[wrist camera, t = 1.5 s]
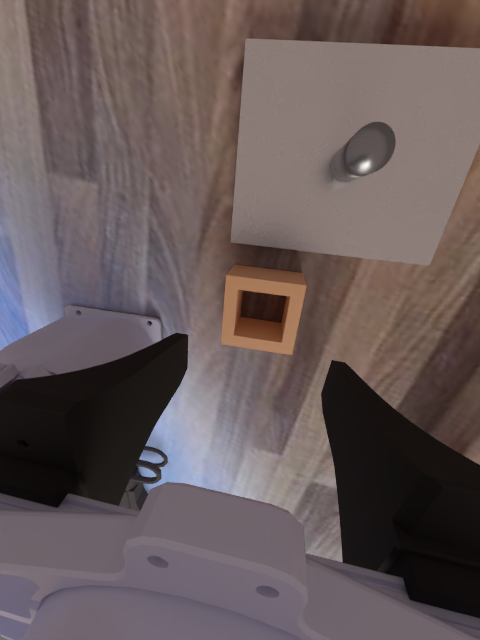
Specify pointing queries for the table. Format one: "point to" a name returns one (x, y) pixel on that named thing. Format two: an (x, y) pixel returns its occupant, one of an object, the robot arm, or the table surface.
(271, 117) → the plate
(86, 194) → the table surface
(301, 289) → the ring
